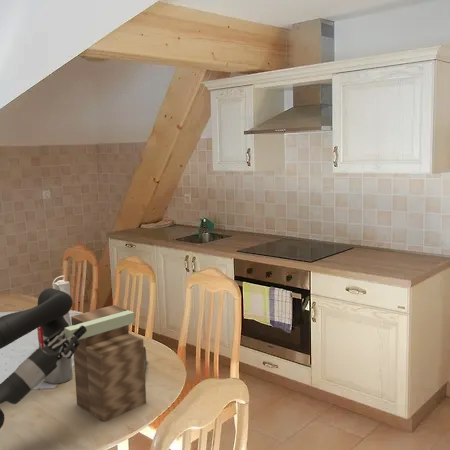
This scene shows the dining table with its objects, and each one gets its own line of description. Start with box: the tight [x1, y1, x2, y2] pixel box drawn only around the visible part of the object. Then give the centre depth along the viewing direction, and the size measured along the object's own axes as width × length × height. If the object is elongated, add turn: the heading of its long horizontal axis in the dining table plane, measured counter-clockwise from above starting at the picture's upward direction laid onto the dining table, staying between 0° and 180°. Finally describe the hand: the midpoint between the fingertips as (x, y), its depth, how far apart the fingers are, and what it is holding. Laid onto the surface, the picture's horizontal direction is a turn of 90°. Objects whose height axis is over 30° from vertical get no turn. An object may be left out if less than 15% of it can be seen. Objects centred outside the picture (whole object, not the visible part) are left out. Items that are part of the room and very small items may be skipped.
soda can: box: [36, 327, 44, 349], centre depth 215 cm, size 7×7×13 cm
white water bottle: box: [52, 275, 72, 326], centre depth 229 cm, size 8×8×28 cm
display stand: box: [70, 304, 147, 422], centre depth 170 cm, size 16×16×30 cm
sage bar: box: [64, 309, 136, 341], centre depth 161 cm, size 22×4×4 cm, turn 136°
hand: (80, 326), depth 156 cm, fingers closed on sage bar, 3 cm apart
